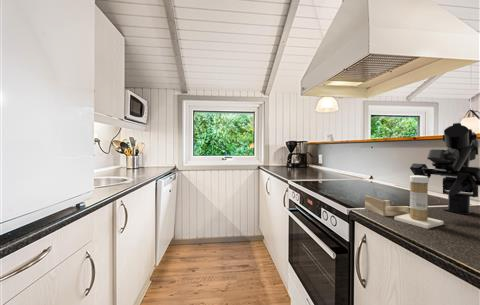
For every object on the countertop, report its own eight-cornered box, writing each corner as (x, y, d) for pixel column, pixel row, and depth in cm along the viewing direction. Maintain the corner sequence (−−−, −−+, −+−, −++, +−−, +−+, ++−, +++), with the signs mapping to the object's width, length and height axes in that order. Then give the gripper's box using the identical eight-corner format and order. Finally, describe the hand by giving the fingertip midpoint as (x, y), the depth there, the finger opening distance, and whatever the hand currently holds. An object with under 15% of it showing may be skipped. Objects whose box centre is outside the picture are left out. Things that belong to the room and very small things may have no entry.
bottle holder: (388, 208, 87) (388, 195, 87) (409, 215, 77) (409, 200, 77) (364, 208, 86) (365, 195, 86) (383, 215, 76) (383, 201, 76)
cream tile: (410, 216, 76) (410, 213, 76) (443, 224, 68) (443, 221, 68) (394, 219, 72) (394, 216, 72) (427, 228, 64) (427, 225, 64)
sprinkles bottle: (427, 218, 70) (428, 175, 70) (427, 221, 67) (428, 177, 67) (409, 215, 73) (410, 174, 73) (408, 218, 70) (409, 176, 70)
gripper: (413, 141, 83) (392, 172, 79) (481, 140, 65) (457, 179, 62) (427, 162, 86) (407, 193, 82) (496, 166, 68) (474, 205, 65)
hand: (432, 192), depth 73 cm, fingers open, 9 cm apart
